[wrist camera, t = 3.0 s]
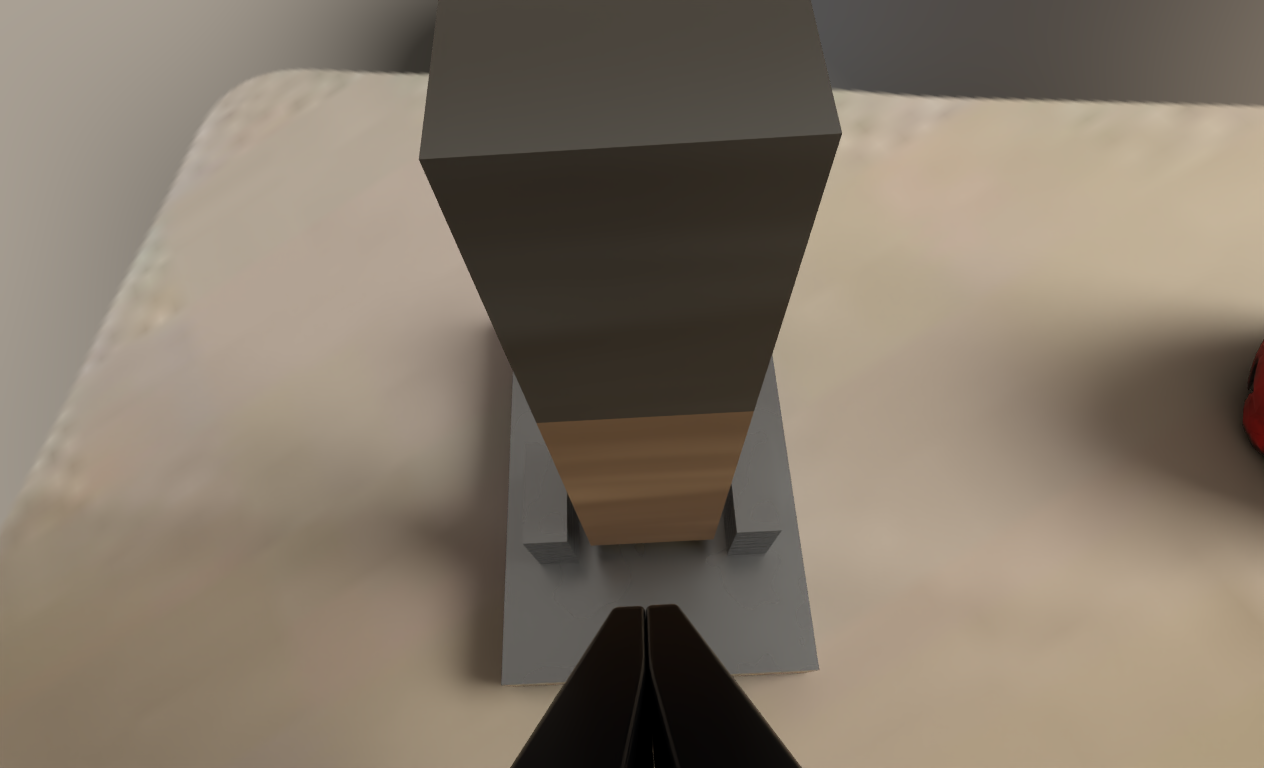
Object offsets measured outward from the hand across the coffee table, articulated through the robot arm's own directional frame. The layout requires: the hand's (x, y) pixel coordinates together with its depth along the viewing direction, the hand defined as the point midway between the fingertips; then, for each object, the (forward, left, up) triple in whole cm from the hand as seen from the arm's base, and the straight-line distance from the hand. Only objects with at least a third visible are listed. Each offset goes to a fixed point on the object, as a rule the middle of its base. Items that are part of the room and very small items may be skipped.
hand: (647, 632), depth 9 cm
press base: (+5, +1, -10) cm, 11 cm away
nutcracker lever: (+4, +1, -7) cm, 8 cm away
